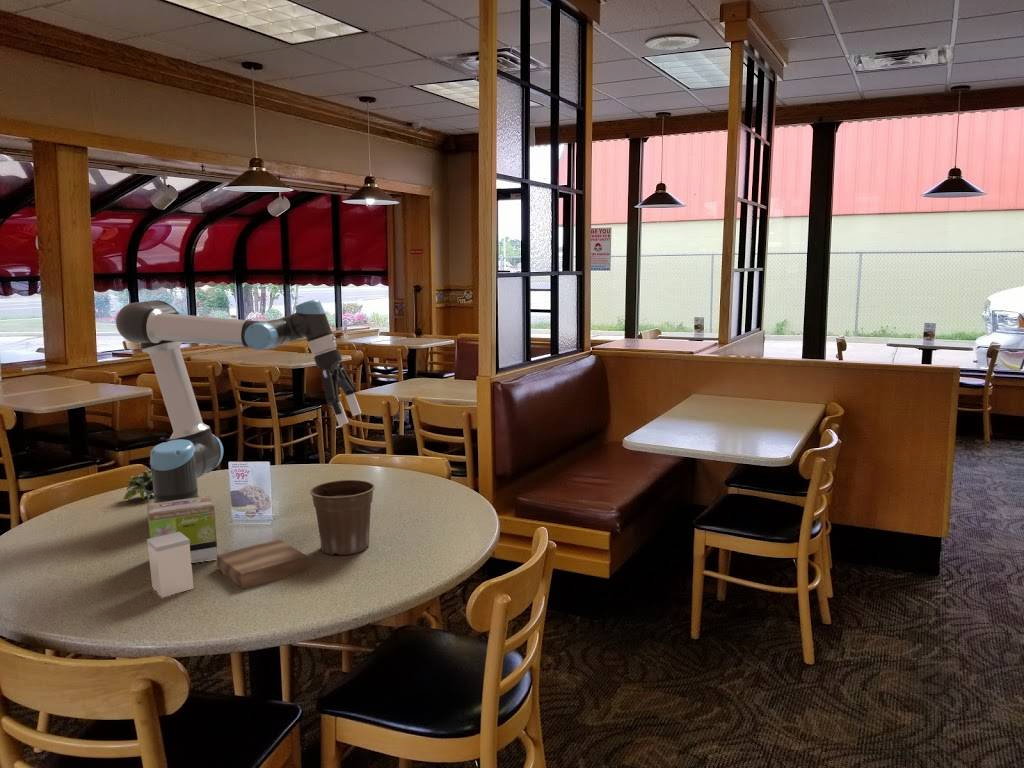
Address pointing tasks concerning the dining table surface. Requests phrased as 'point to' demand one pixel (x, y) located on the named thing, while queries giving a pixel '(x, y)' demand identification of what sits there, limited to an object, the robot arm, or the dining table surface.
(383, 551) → the dining table surface
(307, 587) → the dining table surface
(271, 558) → the block
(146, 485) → the green leafy plant
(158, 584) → the white lidded box
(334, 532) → the plant pot
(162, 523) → the tea box
